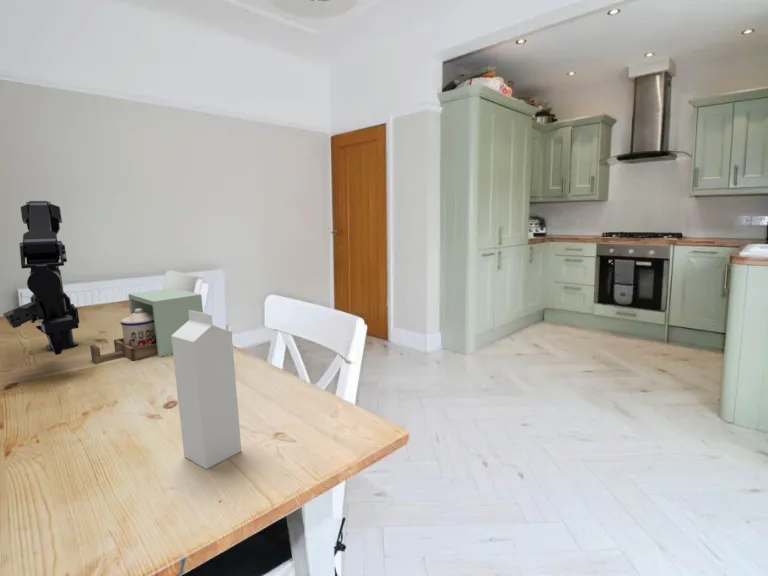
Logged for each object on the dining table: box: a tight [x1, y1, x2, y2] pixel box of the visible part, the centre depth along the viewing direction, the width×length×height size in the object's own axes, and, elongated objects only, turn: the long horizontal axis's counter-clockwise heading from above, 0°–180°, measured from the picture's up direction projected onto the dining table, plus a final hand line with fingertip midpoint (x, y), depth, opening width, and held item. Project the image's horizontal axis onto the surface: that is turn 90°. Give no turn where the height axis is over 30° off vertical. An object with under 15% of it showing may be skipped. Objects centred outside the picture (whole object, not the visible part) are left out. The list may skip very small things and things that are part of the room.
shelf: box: [127, 287, 204, 358], centre depth 123 cm, size 19×12×15 cm, turn 47°
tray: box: [89, 337, 158, 365], centre depth 119 cm, size 14×23×4 cm, turn 137°
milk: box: [171, 310, 242, 470], centre depth 64 cm, size 6×6×22 cm
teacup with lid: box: [120, 309, 157, 348], centre depth 120 cm, size 12×9×12 cm
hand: (57, 354), depth 105 cm, fingers closed
